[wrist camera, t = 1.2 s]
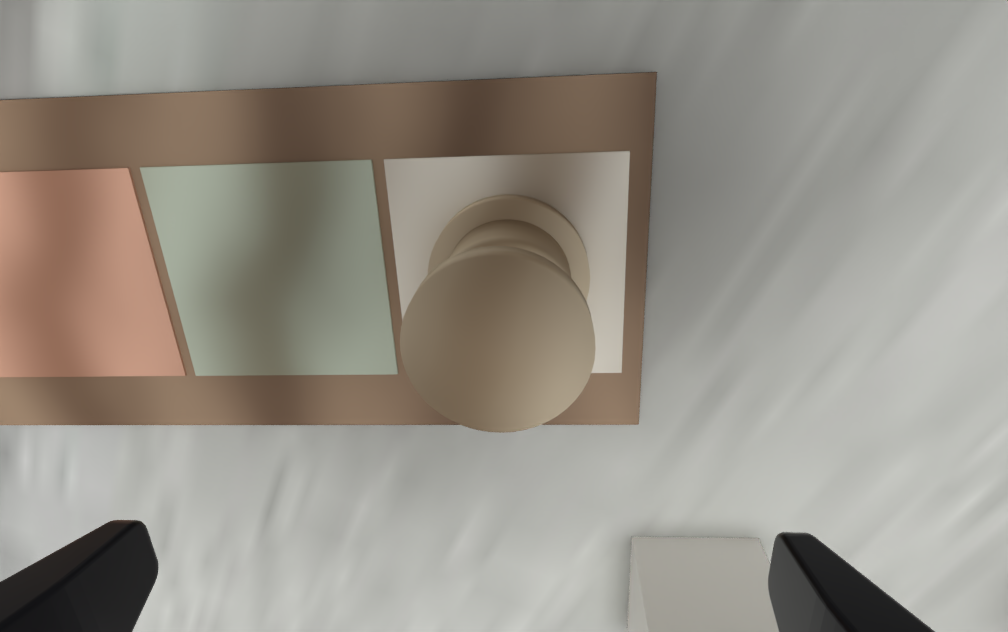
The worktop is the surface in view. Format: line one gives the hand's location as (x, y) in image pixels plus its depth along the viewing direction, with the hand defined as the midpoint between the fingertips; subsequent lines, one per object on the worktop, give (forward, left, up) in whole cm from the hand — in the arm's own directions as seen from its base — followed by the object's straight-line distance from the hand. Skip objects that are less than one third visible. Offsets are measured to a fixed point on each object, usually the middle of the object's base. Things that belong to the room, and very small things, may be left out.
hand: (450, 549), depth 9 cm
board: (+8, 0, -13) cm, 15 cm away
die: (-7, +14, -13) cm, 21 cm away
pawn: (0, 0, -13) cm, 13 cm away
